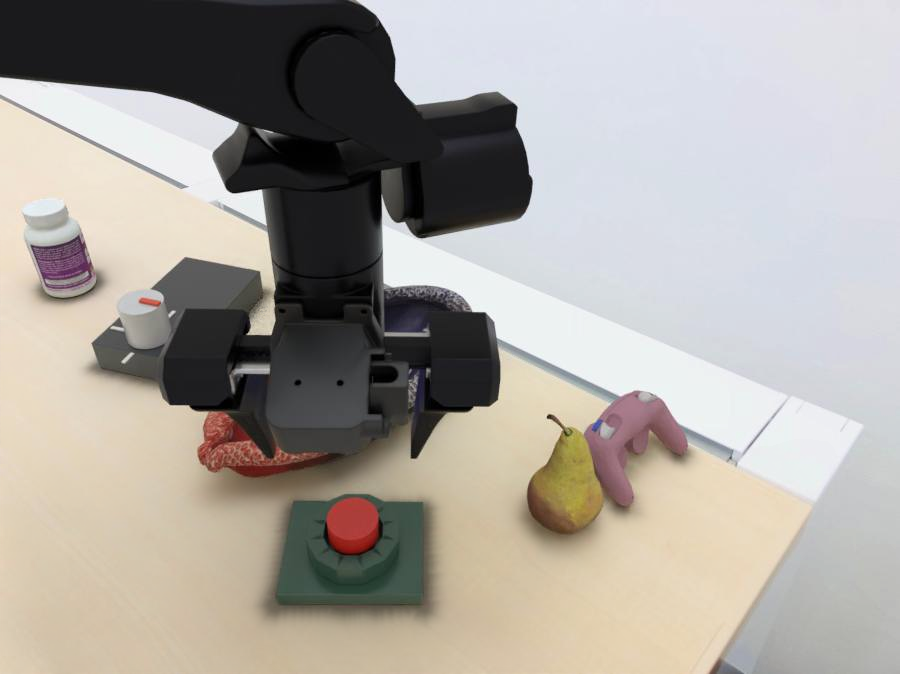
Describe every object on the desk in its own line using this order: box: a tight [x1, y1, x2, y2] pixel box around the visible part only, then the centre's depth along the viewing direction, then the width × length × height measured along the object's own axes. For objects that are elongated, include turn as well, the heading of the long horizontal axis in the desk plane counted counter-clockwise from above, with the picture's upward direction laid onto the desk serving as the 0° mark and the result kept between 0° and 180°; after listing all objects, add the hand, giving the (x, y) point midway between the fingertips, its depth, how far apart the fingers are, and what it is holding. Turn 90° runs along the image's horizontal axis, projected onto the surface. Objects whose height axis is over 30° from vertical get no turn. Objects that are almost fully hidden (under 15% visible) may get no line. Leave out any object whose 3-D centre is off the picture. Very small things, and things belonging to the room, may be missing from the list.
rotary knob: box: [116, 288, 172, 349], centre depth 64 cm, size 4×4×4 cm
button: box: [327, 498, 379, 555], centre depth 49 cm, size 4×4×2 cm
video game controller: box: [583, 389, 689, 507], centre depth 58 cm, size 10×5×7 cm, turn 134°
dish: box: [196, 284, 473, 479], centre depth 63 cm, size 16×31×5 cm, turn 138°
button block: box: [275, 493, 424, 605], centre depth 50 cm, size 10×8×3 cm
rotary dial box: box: [91, 256, 264, 381], centre depth 69 cm, size 18×9×3 cm, turn 166°
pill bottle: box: [21, 197, 97, 299], centre depth 73 cm, size 5×5×10 cm
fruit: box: [526, 413, 604, 536], centre depth 51 cm, size 6×6×12 cm
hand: (343, 454), depth 45 cm, fingers open, 9 cm apart
